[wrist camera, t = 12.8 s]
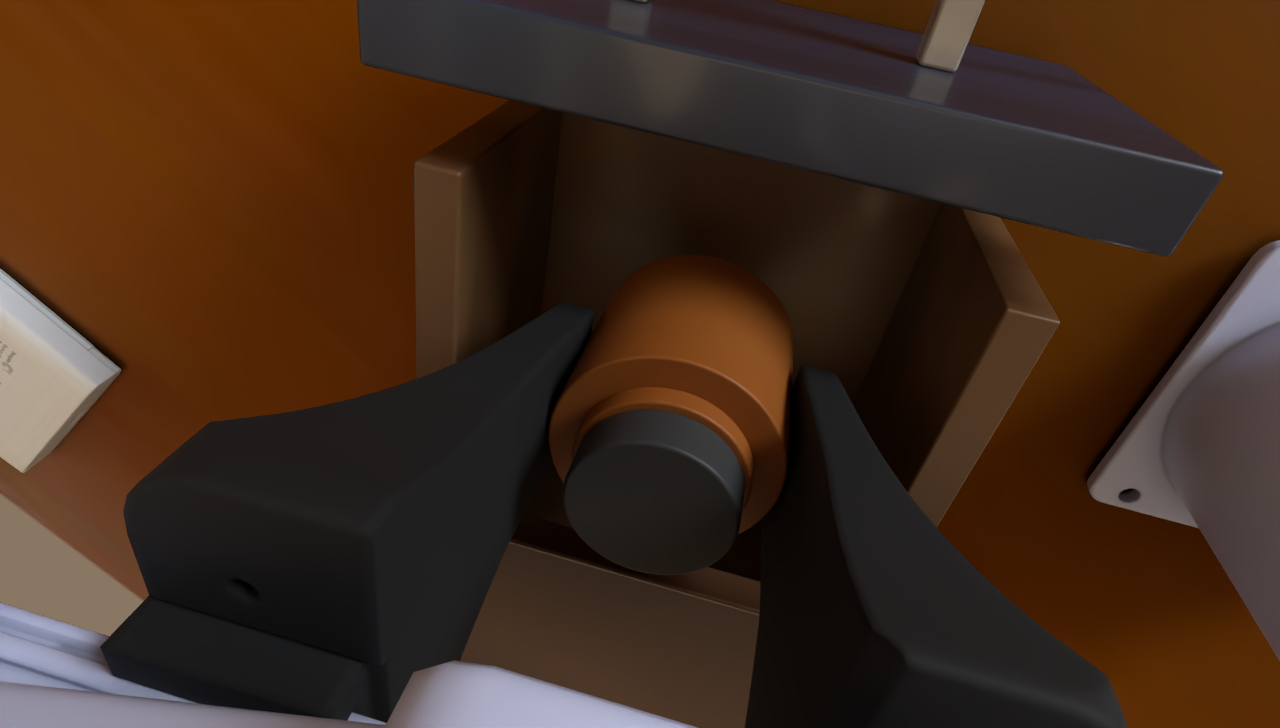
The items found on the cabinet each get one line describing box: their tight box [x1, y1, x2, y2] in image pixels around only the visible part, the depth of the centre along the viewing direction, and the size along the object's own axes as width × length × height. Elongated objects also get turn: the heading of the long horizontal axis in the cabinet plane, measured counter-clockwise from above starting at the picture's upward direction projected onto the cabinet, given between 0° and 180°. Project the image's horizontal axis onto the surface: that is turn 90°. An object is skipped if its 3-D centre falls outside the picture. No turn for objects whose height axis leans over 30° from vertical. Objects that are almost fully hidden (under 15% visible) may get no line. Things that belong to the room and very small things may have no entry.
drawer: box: [357, 0, 1224, 581], centre depth 14 cm, size 17×11×7 cm, turn 170°
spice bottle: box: [549, 255, 794, 575], centre depth 12 cm, size 4×4×5 cm
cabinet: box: [460, 514, 760, 728], centre depth 21 cm, size 14×13×9 cm
